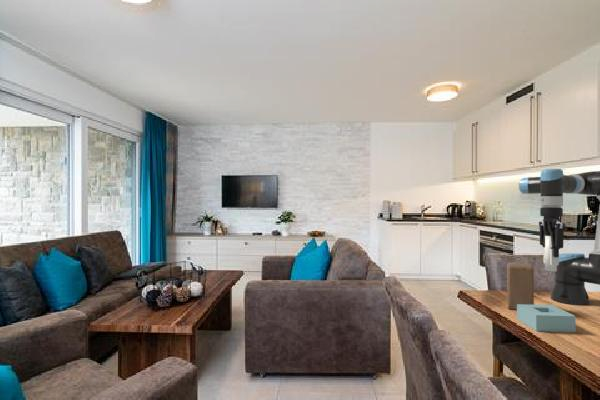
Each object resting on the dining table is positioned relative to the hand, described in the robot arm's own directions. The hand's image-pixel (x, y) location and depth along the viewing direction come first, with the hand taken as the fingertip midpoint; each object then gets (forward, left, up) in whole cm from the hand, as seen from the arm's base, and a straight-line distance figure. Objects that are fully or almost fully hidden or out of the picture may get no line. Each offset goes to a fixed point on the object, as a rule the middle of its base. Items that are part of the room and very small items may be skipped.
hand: (550, 264), depth 143 cm
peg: (0, 0, -3) cm, 3 cm away
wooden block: (+3, -18, -24) cm, 30 cm away
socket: (+5, +4, -24) cm, 24 cm away
